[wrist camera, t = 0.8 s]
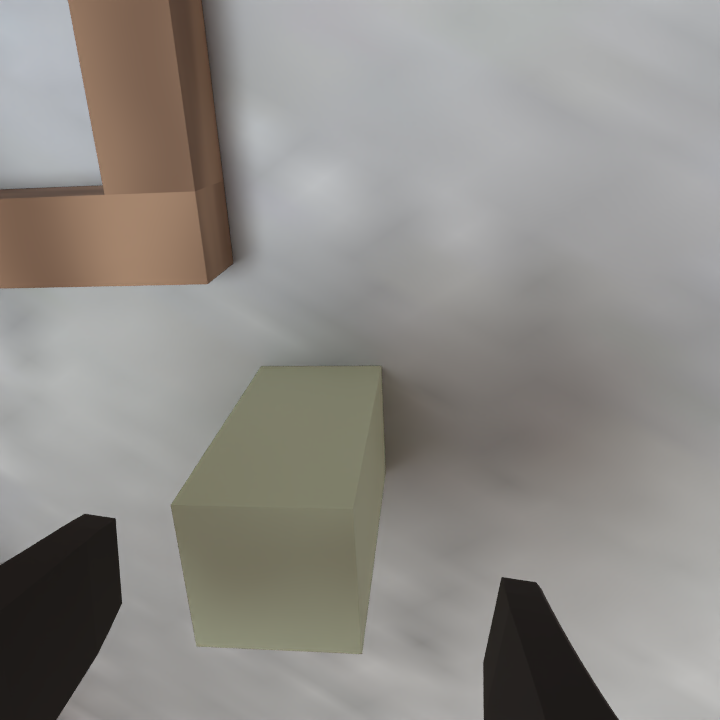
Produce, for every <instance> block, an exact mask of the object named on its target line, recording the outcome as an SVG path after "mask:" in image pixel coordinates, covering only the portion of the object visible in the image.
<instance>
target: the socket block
mask: <svg viewBox="0 0 720 720" xmlns="http://www.w3.org/2000/svg"><path fill="white" fill-rule="evenodd" d="M68 3H69V8H70V14H71V19H72V24H73V30H74V35H75V40H76V46H77V51H78V56H79V62H80V67H81V72H82V77H83V83H84V88H85V93H86V99H87V104H88V109H89V115H90V120H91V125H92V131H93V136H94V141H95V147H96V152H97V157H98V163H99V168H100V173H101V178H102V184H103V185H102V186H77V187H51V188H26V189H1V190H0V288H44V287H92V286H140V285H187V284H208V283H210V282H211V281H212V280H213V279H215V278H216V277H217V276H218V275H220V274H221V273H222V272H223V271H224V270H226V269H227V268H228V267H229V266H231V265H232V264H233V256H232V247H231V239H230V231H229V223H228V215H227V206H226V198H225V190H224V182H223V174H222V165H221V157H220V149H219V141H218V132H217V124H216V116H215V108H214V100H213V91H212V83H211V75H210V67H209V59H208V50H207V42H206V34H205V26H204V17H203V9H202V1H201V0H68Z"/></svg>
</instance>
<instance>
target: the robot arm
mask: <svg viewBox="0 0 720 720" xmlns="http://www.w3.org/2000/svg"><path fill="white" fill-rule="evenodd" d="M121 604H122V596H121V583H120V570H119V557H118V544H117V531H116V519H115V518H109V517H102V516H96V515H89V514H84V515H82V516H80V517H78V518H77V519H75V520H73V521H71V522H70V523H68V524H66V525H65V526H63V527H61V528H60V529H58V530H57V531H55V532H53V533H52V534H50V535H48V536H47V537H45V538H44V539H42V540H40V541H39V542H37V543H36V544H34V545H32V546H31V547H29V548H28V549H26V550H24V551H23V552H21V553H20V554H18V555H16V556H15V557H13V558H11V559H10V560H8V561H6V562H5V563H3V564H1V565H0V720H56V719H57V718H58V716H59V715H60V713H61V711H62V710H63V708H64V707H65V705H66V704H67V702H68V701H69V699H70V697H71V696H72V694H73V693H74V691H75V690H76V688H77V686H78V685H79V683H80V682H81V680H82V678H83V677H84V675H85V674H86V672H87V671H88V669H89V667H90V666H91V664H92V662H93V661H94V659H95V658H96V656H97V654H98V652H99V650H100V648H101V646H102V644H103V642H104V640H105V638H106V636H107V634H108V632H109V630H110V628H111V626H112V624H113V621H114V619H115V617H116V615H117V613H118V611H119V608H120V606H121ZM483 676H484V720H619V719H618V718H617V716H616V715H615V713H614V712H613V711H612V709H611V707H610V706H609V704H608V703H607V701H606V700H605V698H604V697H603V695H602V694H601V692H600V691H599V689H598V687H597V686H596V684H595V683H594V681H593V679H592V678H591V676H590V675H589V673H588V671H587V670H586V668H585V667H584V665H583V663H582V662H581V660H580V658H579V657H578V655H577V653H576V652H575V650H574V648H573V647H572V645H571V643H570V641H569V640H568V638H567V636H566V634H565V633H564V631H563V629H562V627H561V625H560V624H559V622H558V620H557V618H556V616H555V614H554V613H553V611H552V609H551V607H550V605H549V603H548V601H547V599H546V597H545V595H544V593H543V591H542V589H541V588H540V587H539V585H538V584H537V583H536V582H530V581H523V580H517V579H510V578H504V577H502V578H501V583H500V587H499V592H498V597H497V601H496V606H495V611H494V615H493V620H492V625H491V629H490V634H489V639H488V643H487V648H486V652H485V657H484V662H483Z"/></svg>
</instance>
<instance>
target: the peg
mask: <svg viewBox="0 0 720 720" xmlns="http://www.w3.org/2000/svg"><path fill="white" fill-rule="evenodd" d="M385 474H386V470H385V444H384V419H383V393H382V368H381V366H261V367H260V369H259V370H258V372H257V374H256V375H255V377H254V378H253V380H252V381H251V383H250V384H249V386H248V387H247V389H246V390H245V392H244V393H243V395H242V397H241V398H240V400H239V401H238V403H237V404H236V406H235V407H234V409H233V410H232V412H231V413H230V415H229V416H228V418H227V420H226V421H225V423H224V424H223V426H222V427H221V429H220V430H219V432H218V433H217V435H216V436H215V438H214V440H213V441H212V443H211V444H210V446H209V447H208V449H207V450H206V452H205V453H204V455H203V456H202V458H201V459H200V461H199V463H198V464H197V466H196V467H195V469H194V470H193V472H192V473H191V475H190V476H189V478H188V479H187V481H186V483H185V484H184V486H183V487H182V489H181V490H180V492H179V493H178V495H177V496H176V498H175V499H174V501H173V502H172V504H171V509H172V515H173V520H174V526H175V531H176V537H177V542H178V548H179V553H180V559H181V564H182V570H183V575H184V581H185V586H186V591H187V597H188V602H189V608H190V613H191V619H192V624H193V630H194V635H195V641H196V646H199V647H220V648H242V649H263V650H285V651H307V652H328V653H350V654H362V650H363V643H364V635H365V627H366V620H367V612H368V604H369V597H370V589H371V581H372V574H373V566H374V558H375V550H376V543H377V535H378V527H379V520H380V512H381V504H382V497H383V489H384V481H385Z"/></svg>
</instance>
